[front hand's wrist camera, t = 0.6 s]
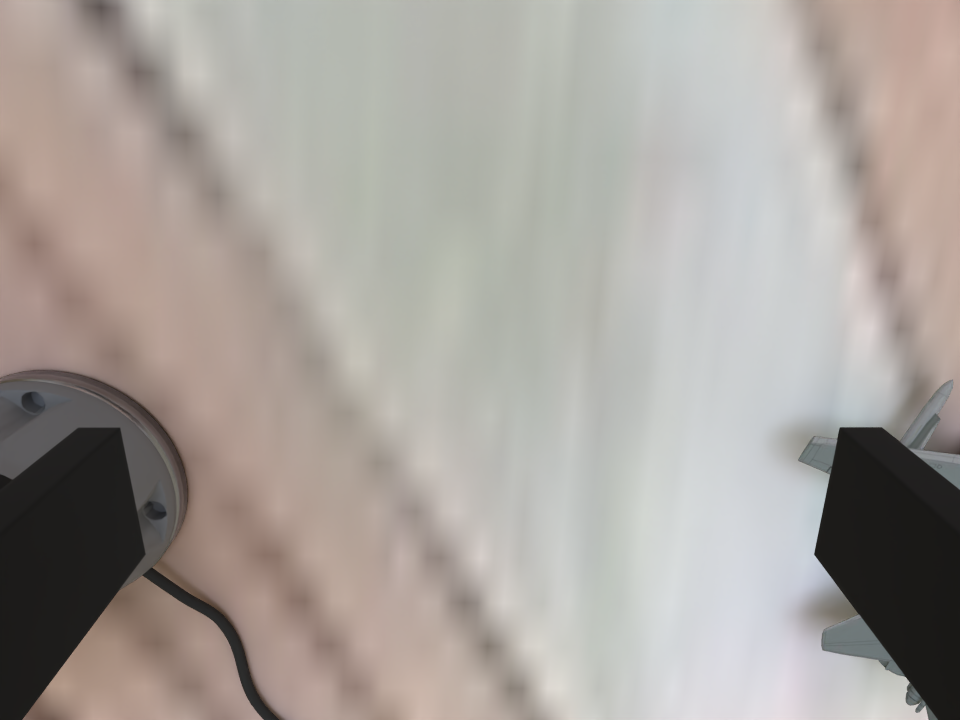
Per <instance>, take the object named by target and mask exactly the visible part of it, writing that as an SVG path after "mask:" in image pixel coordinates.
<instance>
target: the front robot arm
mask: <svg viewBox="0 0 960 720" xmlns="http://www.w3.org/2000/svg"><path fill="white" fill-rule="evenodd" d="M145 555H146V553H145V548H144V543H143V538H142V533H141V528H140V523H139V518H138V513H137V508H136V503H135V498H134V493H133V488H132V483H131V478H130V473H129V469H128V464H127V459H126V454H125V449H124V444H123V439H122V434H121V429H120V427H78V428H77V429H76V430H74V431H73V432H72V433H71V434H69V435H68V436H67V437H66V438H64V439H63V440H62V441H61V442H59V443H58V444H57V445H56V446H54V447H53V448H52V449H51V450H49V451H48V452H47V453H46V454H44V455H43V456H42V457H41V458H39V459H38V460H37V461H36V462H34V463H33V464H32V465H31V466H29V467H28V468H27V469H25V470H24V471H23V472H22V473H20V474H19V475H18V476H17V477H15V478H14V479H13V480H12V481H10V482H9V483H8V484H7V485H5V486H4V487H3V488H2V489H0V720H22V719H23V718H24V717H25V715H26V714H27V713H28V711H29V710H30V709H31V707H32V706H33V705H34V703H35V702H36V701H37V699H38V698H39V697H40V695H41V694H42V693H43V691H44V690H45V689H46V687H47V686H48V684H49V683H50V682H51V680H52V679H53V678H54V676H55V675H56V674H57V672H58V671H59V670H60V668H61V667H62V666H63V664H64V663H65V662H66V660H67V659H68V658H69V656H70V655H71V654H72V652H73V651H74V650H75V648H76V647H77V646H78V644H79V643H80V642H81V640H82V639H83V638H84V636H85V635H86V634H87V632H88V631H89V630H90V628H91V627H92V626H93V624H94V623H95V622H96V620H97V619H98V618H99V616H100V615H101V614H102V612H103V611H104V610H105V608H106V607H107V606H108V604H109V603H110V602H111V600H112V599H113V598H114V596H115V595H116V594H117V592H118V591H119V590H120V588H121V587H122V586H123V584H124V583H125V582H126V580H127V579H128V578H129V576H130V575H131V574H132V572H133V571H134V570H135V568H136V567H137V566H138V564H139V563H140V562H141V560H142V559H143V558H144V556H145ZM814 555H815V556H816V558H817V559H818V560H819V562H820V563H821V564H822V566H823V567H824V568H825V570H826V571H827V572H828V574H829V575H830V576H831V578H832V579H833V580H834V582H835V583H836V584H837V586H838V587H839V588H840V590H841V591H842V592H843V594H844V595H845V596H846V598H847V599H848V600H849V602H850V603H851V604H852V606H853V607H854V608H855V610H856V611H857V612H858V614H859V615H860V616H861V618H862V619H863V620H864V622H865V623H866V624H867V626H868V627H869V628H870V630H871V631H872V632H873V634H874V635H875V636H876V638H877V639H878V640H879V642H880V643H881V644H882V646H883V647H884V648H885V650H886V651H887V652H888V654H889V655H890V656H891V658H892V659H893V660H894V662H895V663H896V664H897V666H898V667H899V668H900V670H901V671H902V672H903V674H904V675H905V676H906V678H907V679H908V680H909V682H910V683H911V684H912V686H913V687H914V689H915V690H916V691H917V693H918V694H919V695H920V697H921V698H922V699H923V701H924V702H925V703H926V705H927V706H928V707H929V709H930V710H931V711H932V713H933V714H934V715H935V717H936V718H937V719H938V720H960V489H958V488H957V487H956V486H955V485H953V484H952V483H951V482H950V481H948V480H947V479H946V478H945V477H943V476H942V475H941V474H940V473H938V472H937V471H936V470H935V469H933V468H932V467H931V466H929V465H928V464H927V463H926V462H924V461H923V460H922V459H921V458H919V457H918V456H917V455H916V454H914V453H913V452H912V451H911V450H909V449H908V448H907V447H906V446H904V445H903V444H902V443H901V442H899V441H898V440H897V439H896V438H894V437H893V436H892V435H891V434H889V433H888V432H887V431H886V430H884V429H883V428H882V427H840V429H839V434H838V439H837V444H836V449H835V454H834V459H833V464H832V469H831V473H830V478H829V483H828V488H827V493H826V498H825V503H824V508H823V513H822V518H821V523H820V528H819V533H818V538H817V543H816V548H815V553H814Z"/></svg>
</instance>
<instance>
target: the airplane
mask: <svg viewBox="0 0 960 720" xmlns="http://www.w3.org/2000/svg"><path fill="white" fill-rule="evenodd" d="M952 388H953V380H950V381H948V382H946V383H944V384H943V385H942V386H941V387H940V388H939V389H938V390H937V391H936V392H935V394H934V395H933V396H932V397H931V399H930V400H929V401H928V402H927V404H926V405H925V406H924V408H923V409H922V411H921V412H920V413H919V415H918V416H917V418H916V419H915V421H914V422H913V424H912V425H911V426H910V428H909V429H908V431H907V432H906V434H905V435H904V436H903V438H902V439H901V441H900V442H901V443H902V444H903V445H904V446H906V447H907V448H908V449H909V450H911V451H912V452H913V453H914V454H916V455H917V456H918V457H919V458H921V459H922V460H923V461H924V462H926V463H927V464H928V465H929V466H931V467H932V468H933V469H935V470H936V471H937V472H938V473H940V474H941V475H942V476H943V477H945V478H946V479H947V480H948V481H950V482H951V483H952V484H953V485H955V486H956V487H957V488H958V489H960V455H959V454H950V453H942V452H935V451H927V450H923V449H924V447H925V445H926V443H927V442H928V440H929V438H930V437H931V435H932V433H933V432H934V430H935V428H936V427H937V425H938V423H939V421H940V418H939V417H938V416H937V415H938V413H939V412H940V410H941V408H942V407H943V405H944V404H945V402H946V400H947V399H948V397H949V395H950V393H951V391H952ZM836 444H837V439H832V438H824V437H815V436H814V437H813V438H812V439H811V440H810V442H809V443H808V445H807V446H806V448H805V449H804V451H803V453H802V454H801V456H800V458H799V460H798V461H800V462H803V463H805V464H807V465H810V466H812V467H814V468H817V469H819V470H821V471H824V472H826V473H828V474H830V473H831V469H832V464H833V459H834V454H835V449H836ZM821 646H822V650H824V651H828V652H833V653H838V654H843V655H850V656H857V657H863V658H870V659H876V660H879V662H880V663H881V664H882V665H883V666H884V667H885V669H886V670H889V671H891V672H893V673H895V674H897V675H900V676H905V675H904V674H903V672H902V671H901V670H900V668H899V667H898V666H897V664H896V663H895V662H894V660H893V659H892V658H891V656H890V655H889V654H888V652H887V651H886V650H885V648H884V647H883V646H882V644H881V643H880V642H879V640H878V639H877V638H876V636H875V635H874V634H873V632H872V631H871V630H870V628H869V627H868V626H867V624H866V623H865V622H864V620H863V619H862V618H861V616H860V615H856V616H854V617H852V618H849V619H847V620H845V621H842V622H840V623H838V624H835V625H833V626H831V627H828V628H826V629H824V631H823V633H822V645H821ZM905 677H906V676H905ZM907 691H908V692H907V693H906V703H907V704H908V705H916V704H919V703H920V702H921V703H920V704H919V705H918V707H917V708H916V711H915V712H916V713H918V712H920V711H921V710H922V709H923V707H924V706H925V705H926V703H925V702H924V701H923V699H922V698H921V697H920V695H919V694H918V693H917V691H916V690H915V689H914V687H913V686H912V684H911V683H909V685H908V686H907ZM926 710H927V714H928V719H929V720H938V719H937V718H936V717H935V715H934V714H933V713H932V711H931V710H930V709H929V707H928V706H927V705H926Z"/></svg>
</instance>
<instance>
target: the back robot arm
mask: <svg viewBox="0 0 960 720" xmlns="http://www.w3.org/2000/svg"><path fill="white" fill-rule="evenodd" d="M78 427H120V429H121V434H122V439H123V444H124V449H125V454H126V459H127V464H128V469H129V473H130V478H131V483H132V488H133V493H134V498H135V503H136V508H137V513H138V518H139V523H140V528H141V533H142V538H143V543H144V548H145V553H146V555H145V556H144V558H143V559H142V560H141V562H140V563H139V564H138V566H137V567H136V568H135V570H134V571H133V572H132V574H131V575H130V576H129V578H128V579H127V580H126V582H125V583H124V584H123V586H122V587H121V588H120V589H122V588H124V587H125V586H127V585H128V584H130V583H132V582H133V581H135V580H136V579H138V578H139V577H141V576H142V575H143V576H144V577H146V578H147V579H148V580H150V581H151V582H153V583H154V584H156V585H157V586H159V587H160V588H162V589H163V590H164V591H166V592H167V593H169V594H170V595H172V596H173V597H175V598H176V599H178V600H179V601H181V602H182V603H184V604H186V605H187V606H189V607H191V608H193V609H195V610H197V611H198V612H200V613H202V614H204V615H206V616H207V617H209V618H210V619H211V620H213V621H214V622H215V623H216V624H217V625H218V627H219V628H220V629H221V630H222V632H223V633H224V635H225V636H226V638H227V640H228V642H229V644H230V646H231V649H232V651H233V654H234V658H235V661H236V665H237V669H238V673H239V677H240V680H241V684H242V686H243V689H244V692H245V694H246V696H247V698H248V700H249V701H250V703H251V705H252V706H253V707H254V709H255V710H256V711H257V713H258V714H259V715H260V716H261V717H262V718H263V719H264V720H279V719H278V718H277V717H276V716H275V715H274V714H273V713H272V712H271V711H270V710H269V709H268V708H267V707H266V706H265V704H264V703H263V701H262V700H261V699H260V697H259V695H258V694H257V692H256V690H255V687H254V685H253V682H252V680H251V676H250V673H249V669H248V665H247V661H246V657H245V653H244V650H243V647H242V644H241V641H240V639H239V637H238V635H237V633H236V631H235V630H234V628H233V626H232V625H231V624H230V623H229V621H228V620H227V619H226V618H225V617H224V615H222V614H221V613H220V612H219V611H218V610H216V609H215V608H214V607H212V606H211V605H209V604H207V603H205V602H204V601H202V600H200V599H198V598H196V597H194V596H193V595H191V594H189V593H188V592H186V591H185V590H183V589H182V588H180V587H179V586H177V585H176V584H175V583H173V582H172V581H170V580H169V579H167V578H166V577H164V576H163V575H162V574H160V573H159V572H157V571H156V570H154V569H153V568H152V567H153V566H154V565H155V564H156V563H157V562H158V561H159V559H160V558H161V557H162V556H163V554H164V553H165V551H166V550H167V549H168V547H169V546H170V544H171V543H172V542H173V540H174V539H175V537H176V536H177V534H178V532H179V530H180V528H181V526H182V523H183V521H184V517H185V513H186V508H187V482H186V477H185V472H184V469H183V466H182V463H181V460H180V458H179V455H178V453H177V451H176V449H175V447H174V445H173V444H172V442H171V440H170V439H169V437H168V436H167V434H166V433H165V431H164V430H163V429H162V428H161V427H160V425H159V424H158V423H157V422H156V421H155V420H154V419H153V418H152V417H151V416H150V415H149V414H148V413H147V412H146V411H145V410H144V409H143V408H142V407H140V406H139V405H138V404H137V403H135V402H134V401H133V400H131V399H130V398H128V397H127V396H125V395H124V394H122V393H120V392H119V391H117V390H115V389H113V388H111V387H109V386H107V385H105V384H103V383H100V382H98V381H96V380H93V379H90V378H87V377H84V376H80V375H76V374H72V373H66V372H59V371H46V370H40V371H26V372H19V373H15V374H11V375H7V376H4V377H2V378H0V489H2V488H3V487H4V486H5V485H7V484H8V483H9V482H10V481H12V480H13V479H14V478H15V477H17V476H18V475H19V474H20V473H22V472H23V471H24V470H25V469H27V468H28V467H29V466H31V465H32V464H33V463H34V462H36V461H37V460H38V459H39V458H41V457H42V456H43V455H44V454H46V453H47V452H48V451H49V450H51V449H52V448H53V447H54V446H56V445H57V444H58V443H59V442H61V441H62V440H63V439H64V438H66V437H67V436H68V435H69V434H71V433H72V432H73V431H74V430H76V429H77V428H78Z"/></svg>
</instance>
